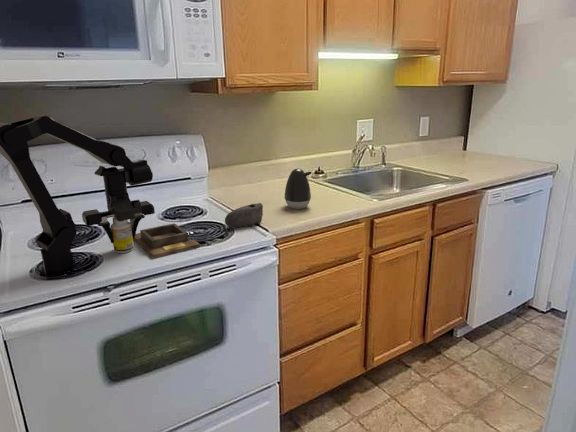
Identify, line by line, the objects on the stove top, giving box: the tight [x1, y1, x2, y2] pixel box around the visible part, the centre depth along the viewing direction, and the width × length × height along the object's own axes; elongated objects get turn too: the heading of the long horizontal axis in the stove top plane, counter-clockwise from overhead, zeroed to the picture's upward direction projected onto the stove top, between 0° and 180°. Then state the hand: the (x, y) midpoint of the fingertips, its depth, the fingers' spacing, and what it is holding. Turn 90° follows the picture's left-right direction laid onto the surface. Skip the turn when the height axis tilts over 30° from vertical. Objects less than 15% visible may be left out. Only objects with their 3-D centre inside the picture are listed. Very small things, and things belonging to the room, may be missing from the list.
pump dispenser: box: [283, 168, 312, 210], centre depth 164 cm, size 10×10×15 cm
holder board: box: [133, 223, 201, 259], centre depth 132 cm, size 14×20×4 cm
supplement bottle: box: [110, 217, 135, 254], centre depth 125 cm, size 6×6×10 cm
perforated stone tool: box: [224, 202, 264, 229], centre depth 146 cm, size 15×5×7 cm, turn 122°
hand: (122, 240), depth 126 cm, fingers closed on supplement bottle, 5 cm apart
